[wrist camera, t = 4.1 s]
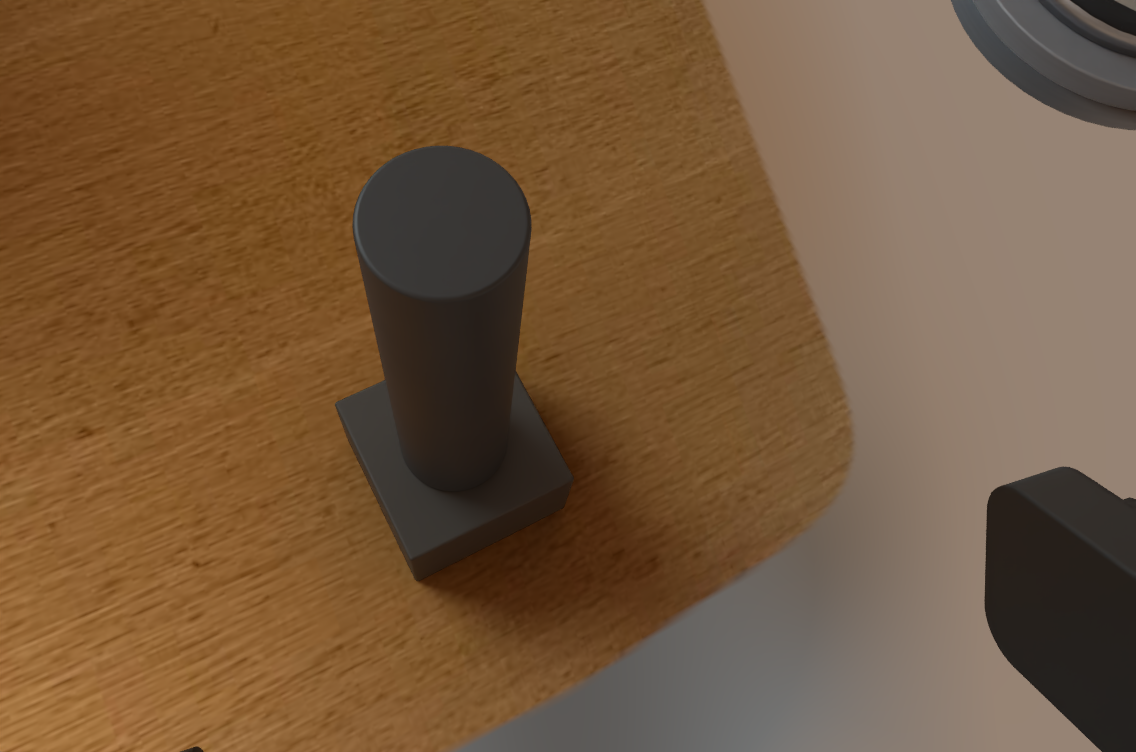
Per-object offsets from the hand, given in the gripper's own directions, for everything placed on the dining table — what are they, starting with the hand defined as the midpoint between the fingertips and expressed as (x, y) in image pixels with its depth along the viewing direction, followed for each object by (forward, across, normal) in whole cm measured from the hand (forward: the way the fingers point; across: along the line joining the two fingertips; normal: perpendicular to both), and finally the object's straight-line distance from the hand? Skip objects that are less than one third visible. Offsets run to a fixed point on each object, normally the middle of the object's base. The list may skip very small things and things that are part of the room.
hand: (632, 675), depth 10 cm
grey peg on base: (+17, 0, +7) cm, 18 cm away
